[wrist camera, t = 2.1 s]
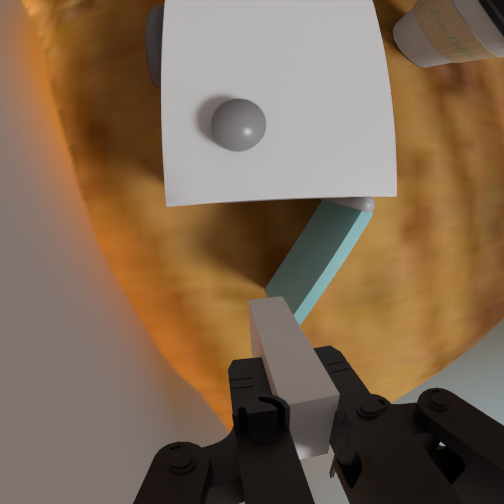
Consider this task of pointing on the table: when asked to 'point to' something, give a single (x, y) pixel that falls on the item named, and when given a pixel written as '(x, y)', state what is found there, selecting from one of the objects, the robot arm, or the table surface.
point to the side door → (319, 252)
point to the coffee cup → (451, 31)
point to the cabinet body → (271, 100)
